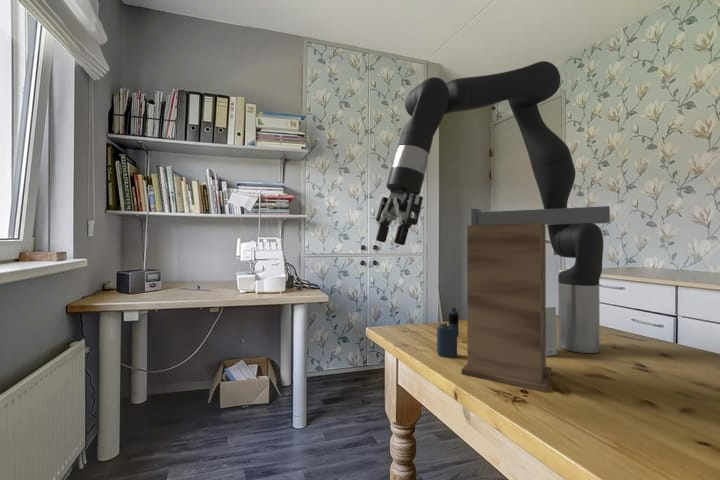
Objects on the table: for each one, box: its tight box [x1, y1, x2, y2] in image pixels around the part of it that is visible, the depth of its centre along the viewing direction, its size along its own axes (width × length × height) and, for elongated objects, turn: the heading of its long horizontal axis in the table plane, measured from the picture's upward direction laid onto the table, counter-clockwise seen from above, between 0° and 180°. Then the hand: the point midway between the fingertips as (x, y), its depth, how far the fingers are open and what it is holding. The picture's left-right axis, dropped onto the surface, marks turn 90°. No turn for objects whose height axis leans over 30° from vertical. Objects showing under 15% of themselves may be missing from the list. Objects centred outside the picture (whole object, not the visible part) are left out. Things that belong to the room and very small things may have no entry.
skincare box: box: [546, 305, 558, 357], centre depth 88 cm, size 6×4×12 cm
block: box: [470, 205, 611, 225], centre depth 71 cm, size 4×25×4 cm, turn 56°
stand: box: [461, 223, 553, 393], centre depth 74 cm, size 12×16×32 cm
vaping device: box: [436, 307, 460, 358], centre depth 85 cm, size 3×5×12 cm, turn 79°
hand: (389, 242), depth 74 cm, fingers open, 8 cm apart
